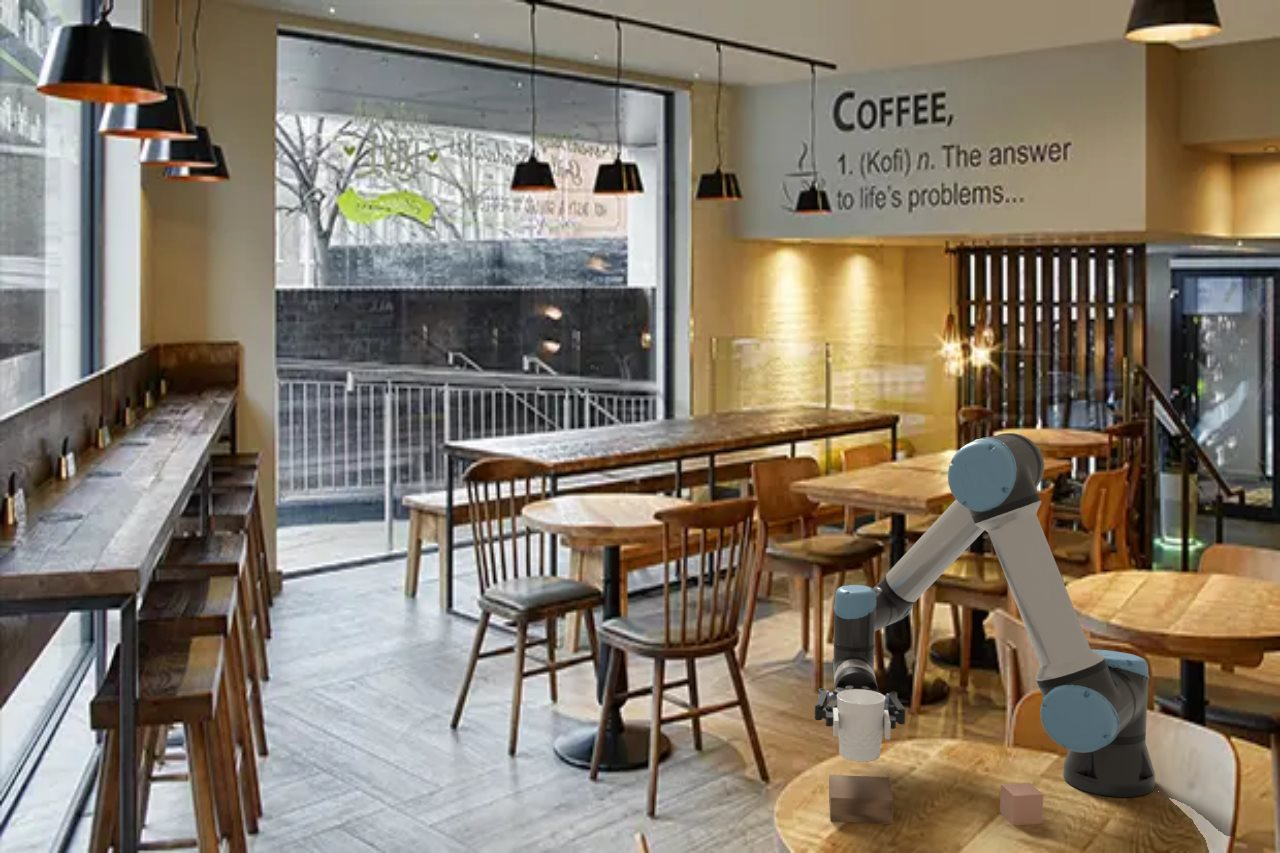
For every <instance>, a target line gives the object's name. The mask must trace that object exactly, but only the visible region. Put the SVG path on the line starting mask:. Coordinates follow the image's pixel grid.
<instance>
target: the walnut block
mask: <svg viewBox="0 0 1280 853" xmlns="http://www.w3.org/2000/svg"><path fill="white" fill-rule="evenodd" d="M828 780H829V781H828V782H829V783H828V784H829V785H828V802H829V818H830V822H841V823H843V822H844V823H861V824H864V823H865V824H882V825H893V824H894V797H893V792H892V786H891V781H890V777H888V776H871V775H870V776H869V775H867V776H865V775H844V774H829V776H828Z"/></svg>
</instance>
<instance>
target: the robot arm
mask: <svg viewBox="0 0 1280 853" xmlns="http://www.w3.org/2000/svg"><path fill="white" fill-rule="evenodd" d="M1044 461H1045V460H1044V457H1043V454H1042V452H1041V449H1040V448H1039V447H1038V446H1037V444H1036V443H1035V442H1033V440H1032V439H1030V438H1028V437H1026V436H1025V435H1022V434H1018V433H1013V432H1012V433H1011V432H1007V433H1001V434H996V435H991V436H987V437H982V438H979V439H975V440H973V441H971V442H968V443H967V444H965V445H963V446H962V447H961V448H960V449H957V451H956V453H955V454H954V455H953V457H952V459H951V460H950V464H949V466H948V470H947V483H948V487H949V490H950V493H951V494H952V496H953V497H954V499H955V500H954V501H953V502H952V503H951V504H950V505H949V506H948V507H947V508H946V509H945V510H944V511H943V513H942V514H940V516H939V517H938V518H937V519H936V520H935V521H934V522H933V523H932V525H931V526H930V527H929V528H928V529H927V530H926V531H925V532H924V533H923V534H922V535H921V537H919V539H918V540H917V541H916V542H915V543H914V544H913V545H912V546H911V547H910V548H909V549H908V551H906V553H904V555H903V556H902V557H901V558H900V559H899V560H898V561H897V562H896V563H895V564H894V566H892V567H891V569H889V571H888V572H887V573H886V575H884V576H883V577H882V578H881V579H880V580H879V581H878V583H876V585H874V587H873V588H872V587H871V586H867V585H862V584H849V585H842V586H840V587H838V588H837V589H836V591H835V595H834V596H835V597H834V605H833V620H834V621H833V654H832V655H833V656H832V657H833V658H832V661H831V662H832V664H831V665H832V666H831V670H832V673H833V683H834V684H833V685H834V690H833V691H832V692H830V690H826V689H825V688H824V687H823V688H822V687H821V688H818V690H817V691H818V692H817V694H818V696H817V697H818V698H817V699H816V702H815V704H814V720H815V721H822V720H823V719H824V720H825V726H826V727H832V730H833V731H832V732H833V738H838V732H839V718H838V712H837V694H838V693H839V692H841V691H845V690H851V689H863V690H870V691H875V692H878V693H880V694H882V692H881V691H880V690H879V688H878V683H877V679H876V674H875V647H876V646H875V644H876V643H875V642H876V640H875V639H876V632H877V631H879V630H881V629H883V628H885V627H887V626H890V625H892V624H895V623H899V622H901V621H902V620H903V619H905V617H907V616H908V615H909V614H910V613H911V612H912V609H913V607H914V604H915V603H916V602H917V601H918V599H919V598H921V596H922V595H923V594H925V592H926V591H927V590H928V589H929V588H930V587H931V586H932V585H933V584H934V583H935V582H936V580H938V579H939V577H941V576H943V574H944V573H945V572H946V571H947V569H948V568H949V567H950V566H951V565H952V564H953V563H954V562H956V560H957V559H959V557H960V556H961V555H963V553H964V552H965V551H966V550H967V549H968V548H969V547H970V546H971V545H972V544H973V543H974V542H975V541H976V540H977V538H978V537H980V536H981V534H982V533H983V532H984V531H985V532H987V534H988V536H989V539H990V540H991V544H992V545H993V549H994V551H995V554H996V556H997V559H998V562H999V564H1000V566H1001V569H1002V571H1003V574H1004V577H1005V579H1006V581H1007V583H1008V587H1009V590H1010V592H1011V595H1012V597H1013V599H1014V601H1015V604H1016V608H1017V609H1018V611H1019V612H1018V613H1019V615H1020V617H1021V620H1022V622H1023V625H1024V627H1025V630H1026V633H1027V634H1028V638H1029V640H1030V642H1031V645H1032V648H1033V650H1034V653H1035V656H1036V659H1037V661H1038V663H1039V669H1038V671H1037V673H1036V676H1035V681H1036V683H1037V685H1038V688H1039V691H1040V694H1041V696H1042V697H1043V699H1042V702H1041V705H1040V710H1039V711H1040V712H1039V716H1040V721H1041V725H1042V727H1043V728H1044V731H1045V732H1046V734H1047V735H1048V736H1049V738H1051V740H1052V741H1053V742H1055V743H1056V744H1057V745H1058V746H1060V747H1063V748H1064V749H1065V750H1067V751H1068V752H1067V754H1066V756H1065V760H1064V761H1063V769H1062V770H1063V771H1062V772H1063V774H1062V775H1063V779H1064V780H1065V781H1066V783H1068V784H1070V785H1071V786H1073V787H1074V788H1076V789H1079V790H1081V791H1084V792H1087V793H1091V794H1095V795H1098V796H1099V795H1100V796H1107V797H1112V798H1113V797H1115V798H1116V797H1117V798H1131V797H1132V798H1133V797H1139V796H1144V795H1147V794H1150V793H1151V792H1153V791H1154V790H1155V787H1156V786H1155V785H1156V773H1155V769H1154V767H1153V763H1152V759H1151V756H1150V753H1149V749H1148V746H1147V741H1146V739H1147V737H1146V736H1147V735H1146V734H1147V717H1148V716H1147V715H1148V714H1147V712H1148V694H1149V693H1148V692H1149V690H1148V688H1149V679H1150V675H1149V665H1148V662H1147V660H1146V659H1145V658H1143V657H1140V656H1138V655H1135V654H1133V653H1132V654H1131V653H1126V652H1122V651H1121V652H1120V651H1115V650H1106V649H1105V650H1104V649H1091V647H1090V644H1089V642H1088V640H1087V637H1086V634H1085V631H1084V630H1083V627H1082V625H1081V622H1080V620H1079V618H1078V615H1077V613H1076V610H1075V607H1074V604H1073V602H1072V600H1071V598H1070V595H1069V592H1068V590H1067V587H1066V585H1065V583H1064V580H1063V577H1062V575H1061V572H1060V570H1059V566H1058V565H1057V563H1056V559H1055V557H1054V555H1053V553H1052V550H1051V547H1050V545H1049V543H1048V540H1047V537H1046V535H1045V532H1044V530H1043V527H1042V525H1041V523H1040V520H1039V517H1038V516H1037V515H1038V510H1039V508H1040V506H1041V504H1042V499H1041V497H1040V494H1039V492H1038V489H1037V488H1038V486H1039V485H1040V483H1041V481H1042V480H1043V477H1044V473H1045V462H1044ZM882 695H884V697H885V709H884V724H883V734H884V739H885V740H891V729H892V730H895V729H896V727H897V724H898V725H905V723H906V708H905V707H904V705H903V704H902V703H901V701H900V700H899V697H898V692H897V691H890V692H889V693H886V694H882ZM896 723H897V724H896Z"/></svg>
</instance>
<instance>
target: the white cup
mask: <svg viewBox="0 0 1280 853" xmlns="http://www.w3.org/2000/svg"><path fill="white" fill-rule="evenodd" d="M884 695H885V694H880V693H878V692H875V691H870V690H863V689H851V690H845V691H841V692H839V693H838V694H837V712H838V718H839V732H838V737H837V738H838V751H839V752H838V753H839V754H838V755H839V756H841V757H842V759H845V760H847V761H851V762H857V763H869V762H870V763H871V762H873V761H875V762H876V761H877V760H879V759H880V758H881V747H882V741H883V734H884V729H883V724H884V709H885V697H884Z"/></svg>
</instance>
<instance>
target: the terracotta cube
mask: <svg viewBox="0 0 1280 853" xmlns="http://www.w3.org/2000/svg"><path fill="white" fill-rule="evenodd" d="M999 795H1000V796H999V797H1000V799H999V800H1000V802H999V814H1000V815H1002V817H1004V819H1006V820H1007V821H1008V822H1009V823H1010V824H1011V825H1012V826H1021V825H1023V826H1024V825H1037V824H1039V825H1040V824H1042V825H1043V813H1044V812H1043V805H1044V793H1042V792H1041V791H1040V790H1039V789H1037V788H1036V786H1034V785H1033V784H1032V783H1031V782H1017V783H1001V784H1000V794H999Z"/></svg>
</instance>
